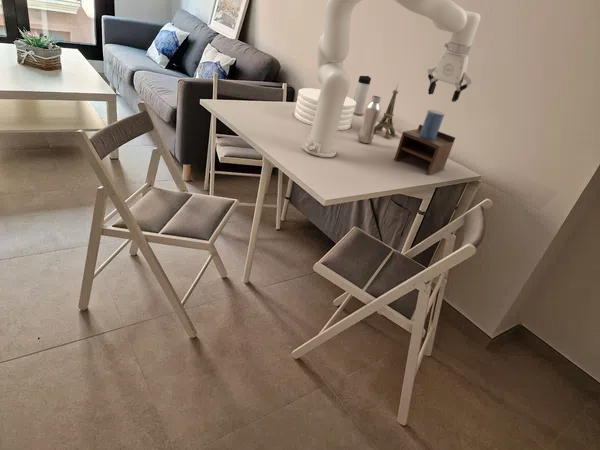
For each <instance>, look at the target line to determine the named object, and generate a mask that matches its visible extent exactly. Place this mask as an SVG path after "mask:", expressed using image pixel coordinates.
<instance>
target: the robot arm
mask: <svg viewBox="0 0 600 450" xmlns="http://www.w3.org/2000/svg"><path fill="white" fill-rule="evenodd" d="M362 1H363V0H327V2H326V6H325V9H324V24H323V33H322V34H321V35H320V37H319V39H318V42H317V79H318V82H319V83H320V85H321V88H320V89H321V92H320V95H319V98H318V102H317V106H316V111H315V116H314V121H313V125H311V129H310V130H311V131H310V136H309V138H308V140H307V142H304V143H302V144H301V149H303V150H304V151H305V152H306V153H308V154H311V155H312V156H316V157H320V158H333V157H335V156H336V153H337V152H336V149H334V145H335V141H336V138H337V133H338V130H337V129H338V125H339V121H340V117H341V112H342V108H343V105H344V101H345V98H346V96H347V97H348V93H349V90H350V87H351V78H350V75H349V73H348V72H347V70H346V69H345V68H343V66H344V65H343V63H344V62H343V61H345V60H346V59H347V57H348V55H349V53H350V52H349V51H350V25H351V16H352V12H353V10H354V8H355V7H356V5H357V4H359V3H360V2H362ZM393 1H394V2H396V3H397V4H399V5H400V6H401V7H403V8H405V9H406V10H407V11H410V12H412V13H413V14H418V15H421V16H422V17H423V16H424V17H425V18H427V19H430V20H431V21H432V24H433V25H434V27H435V28H436V29H438V30H440V31H443V32H449V33H452V34H451V37H450V39H449V42H448V43H447V42H445V43H444V48H446V50H443V52H442V54H441V56H440V58H439V60H438V63H437V65H436V66H435V67H431V68H428V69H427V77H428V80H429V83H430V84H429V86H428V90H427V91H428V92H427V94H428V95H433V94H434V92H435V90H436V87H437V82H438V81H441V82H443V83H447V84H451V85H455V88H456V89H455V90H454V92H453V95H452V98H451V102H452V103H455V102H457V101H459V98H460V95H461V92H462V91H464V90H466V89H467V88H468V87H469V86H470V85H471V84H472V83H473V80H472V79H471V78H470V77H469V75H467V74H466V73H467V70H468V65H469V59H470V56H469V54H470V50H471V47H472V44H473V42H474V39H475V36H476V33H477V30H478V27H479V24H480V22H481V17H482V16H481V14H480V13H478V12H474V11H470V10H465V9H464V8H463V7H461V6H460V5H458V4H457V3H456V2H454V1H452V0H393ZM433 73H434V74H433ZM464 80H465V83H464V84H463V85H462V83H463V82H464Z"/></svg>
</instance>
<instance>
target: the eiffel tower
mask: <svg viewBox="0 0 600 450" xmlns="http://www.w3.org/2000/svg"><path fill="white" fill-rule="evenodd" d="M398 86H399V84H397V85H396V88H395V89H393V91H392V96H391V98H390V101H389V104H388V106H387V108H386V111H385V112H383V117H382V119H381V120H380V121H379V122H378V123H377V124H375V129H374V135H375V134H377V132H383V131H384V130H383V128H384V129H385V131H384V132H385V133H384V135H383V138H384V139H386V140H390V139H391V136H392V137H397V136H398V135H397V134H396V131H395V128H394V123H393V117H394V116H395V113H394V110H395V105H396V104H395V102H396V98H397V94H399V90H398Z"/></svg>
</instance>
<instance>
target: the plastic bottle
mask: <svg viewBox="0 0 600 450" xmlns="http://www.w3.org/2000/svg"><path fill="white" fill-rule="evenodd" d="M381 99H382V98H381V96H378V95H372V96H371V98H370V102H368V104H366V106H364V107H365V108H364V116H363V121H362V123H361V127H360V130H359V131H358V134H357V139H358V141H359V142H362V143H365V144H371V143H372V142H373V140H374V136H375V134H374V129H375V126H376V125H377V121H378V119H379V117H380V113H381V111H382V110H381V106H380V103H381Z"/></svg>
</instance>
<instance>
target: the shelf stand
mask: <svg viewBox="0 0 600 450" xmlns="http://www.w3.org/2000/svg"><path fill="white" fill-rule="evenodd" d="M422 126H423V124H419V125H418V127H417V128H415V129H409V130H406V131H402V134H401V137H400V140H399V143H398V146H397V150H396V153H395V156H394V158H393V160H394V161H396V162H397V161H401V160H404V159H407V158H410V157H411V158H412V159H413V158H414V159H416V160H418V161H421V162H423V163H425V164H428V165H429V167H428V169H427V172H426V175H427V176H430V175H433V174H435V173H438V172H440V171H443V170H444V169H445V166H446V164H447V161H448V158H449V156H450V153H451V150H452V148H453V146H454V143H455V140H456V137H455V136H453V135H450V134H448V133H445V132H442V131H440V130H439V131H438V134H437V137H436V139H435V140H429V139H426V138H423V137H421V136H420V132H421V129H422Z"/></svg>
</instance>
